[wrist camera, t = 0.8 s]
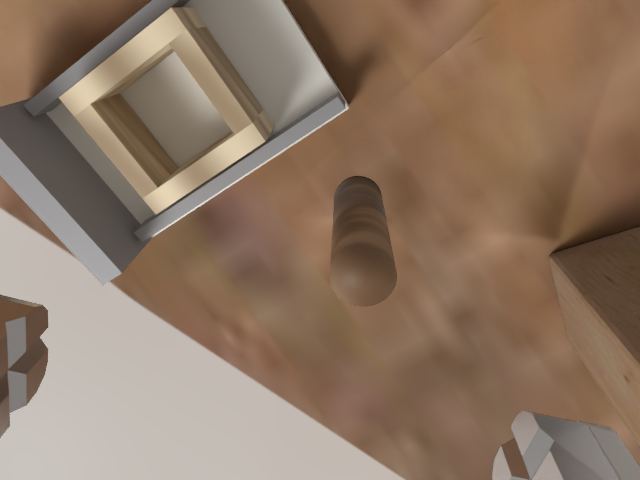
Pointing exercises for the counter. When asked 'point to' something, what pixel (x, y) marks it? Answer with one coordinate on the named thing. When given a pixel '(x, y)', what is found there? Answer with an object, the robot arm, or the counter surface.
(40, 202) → the rail base
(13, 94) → the counter surface
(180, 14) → the socket block
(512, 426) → the robot arm
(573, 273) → the wooden block
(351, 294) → the dowel
